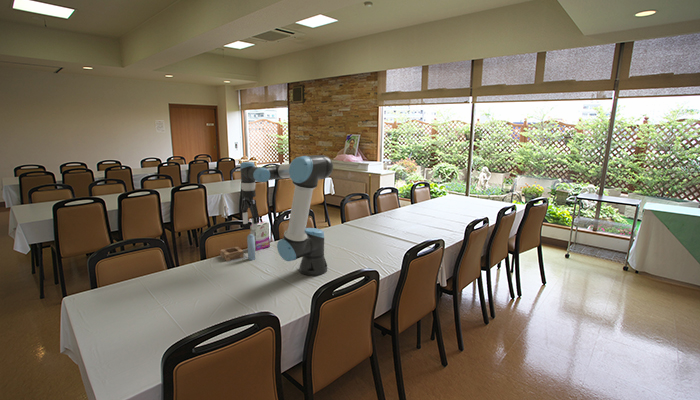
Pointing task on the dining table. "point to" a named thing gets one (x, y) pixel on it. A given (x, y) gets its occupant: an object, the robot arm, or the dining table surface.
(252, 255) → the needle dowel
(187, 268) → the dining table surface
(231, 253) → the wooden square frame
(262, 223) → the candy bar box
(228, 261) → the mat
